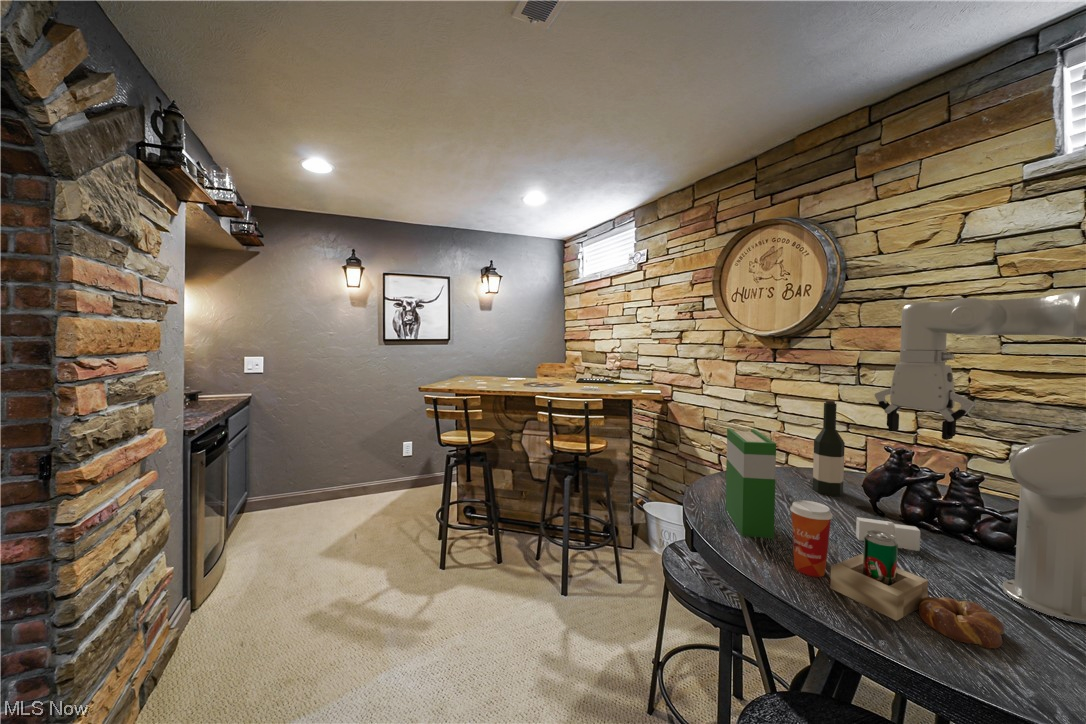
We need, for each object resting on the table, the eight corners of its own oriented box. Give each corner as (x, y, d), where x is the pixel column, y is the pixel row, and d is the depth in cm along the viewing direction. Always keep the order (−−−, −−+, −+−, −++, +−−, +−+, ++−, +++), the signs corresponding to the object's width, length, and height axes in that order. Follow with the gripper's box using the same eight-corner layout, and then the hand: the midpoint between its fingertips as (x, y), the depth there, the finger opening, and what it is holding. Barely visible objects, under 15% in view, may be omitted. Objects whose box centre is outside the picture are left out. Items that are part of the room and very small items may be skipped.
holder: (927, 603, 78) (928, 580, 78) (896, 620, 73) (897, 596, 73) (861, 574, 88) (861, 553, 88) (830, 588, 83) (830, 566, 83)
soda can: (883, 589, 83) (885, 529, 82) (902, 604, 78) (905, 541, 77) (856, 587, 83) (858, 528, 83) (873, 603, 78) (875, 540, 78)
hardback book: (725, 508, 123) (727, 428, 122) (752, 510, 122) (754, 429, 121) (742, 535, 106) (744, 442, 105) (773, 538, 105) (776, 443, 103)
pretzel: (935, 601, 80) (936, 582, 80) (1019, 637, 70) (1020, 615, 70) (903, 618, 74) (904, 598, 74) (988, 660, 65) (990, 637, 64)
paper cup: (780, 564, 92) (781, 502, 92) (805, 558, 95) (806, 497, 94) (814, 583, 85) (816, 515, 84) (840, 576, 88) (842, 510, 87)
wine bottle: (806, 488, 140) (808, 399, 139) (825, 486, 143) (827, 398, 141) (830, 497, 132) (833, 403, 131) (849, 494, 135) (852, 401, 133)
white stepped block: (842, 539, 105) (843, 516, 105) (865, 529, 111) (865, 508, 110) (918, 567, 92) (919, 541, 92) (939, 554, 97) (940, 530, 97)
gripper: (983, 359, 87) (979, 440, 88) (885, 356, 102) (882, 426, 103) (967, 360, 83) (963, 444, 84) (868, 357, 99) (866, 429, 100)
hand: (919, 434), depth 94 cm, fingers open, 9 cm apart
